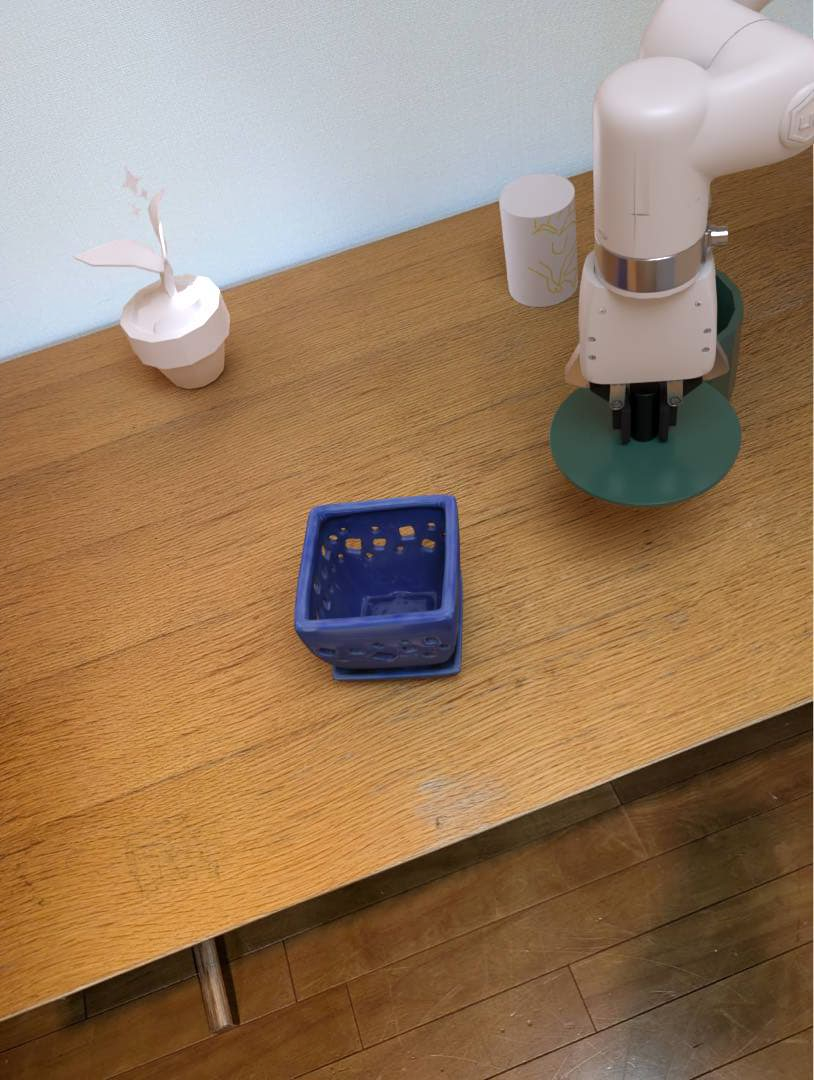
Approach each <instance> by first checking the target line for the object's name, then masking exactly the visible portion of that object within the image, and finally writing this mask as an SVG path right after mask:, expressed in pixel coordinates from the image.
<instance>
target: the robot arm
mask: <svg viewBox="0 0 814 1080" xmlns="http://www.w3.org/2000/svg"><path fill="white" fill-rule="evenodd" d="M773 1H774V0H662V1H661V2H660V4H659V5H658V6H657V8H655V11H654V12H653V14H652V16H651V18H650V20H649V22H648V24H647V25H646V27H645V30H644V32H643V34H642V37H641V39H640V42H639V47H638V51H637V55H636V60H632V61H629V62H626V63H624V64H622V65H621V66H619V67H616V68H615V69H614V70H613V71H611V72H610V73H609V74H607V75H606V76H605V77H604V78H603V79H602V81H601V82H600V83H599V85H598V87H597V88H596V91H595V94H594V95H593V96H594V97H593V99H592V100H593V101H592V108H591V109H592V110H591V111H592V112H591V127H592V128H591V130H592V131H591V132H592V176H593V177H592V178H593V179H592V180H593V183H592V184H593V226H594V227H593V231H594V232H593V235H594V239H593V241H594V249H593V250H591V251H590V252H589V253H588V254H587V256H586V257H585V260H584V263H583V268H582V272H581V277H580V286H579V296H578V321H577V323H578V324H577V327H578V328H577V337H578V338H577V339H578V341H577V342H578V344H577V345H576V347H575V349H574V351H573V353H572V354H571V356H570V357H569V360H568V361H567V363H566V365H565V367H564V370H563V372H564V382H565V383H566V384H567V385H571V386H575V387H578V388H579V387H582V388H590V390H591V391H592V392H593V393H595V394H596V395H598V396H599V397H601V398H602V399H604V400H606V401H607V402H609V407H610V408H611V409H612V429H613V430H615V429H621V443H622V444H626V443H628V442H630V426H631V408H630V399H629V387H627V386H626V383H640V382H655V381H663V382H660V399H659V420H658V436H659V440H661V442H663V441H668V431H669V426H676V424H677V409H678V406H679V405H680V404H682V402H683V397H684V396H686V395H687V394H688V393H690V392H691V391H693V390H694V389H695V388H697V387H698V386H700V385H701V384H702V382H703V381H704V380H707V381H708V380H710V379H713V378H716V377H718V376H721V375H723V374H726V373H727V372H728V371H729V364H728V358H727V356H726V354H725V352H724V350H723V349H722V347H721V345H720V343H719V341H718V340H717V295H716V279H715V274H716V272H715V269H716V264H715V257H714V253H713V250H714V249H716V248H717V247H725V246H728V242H729V227H728V225H718V226H717V225H716V224H711V221H710V220H709V219H708V217H709V216H708V215H709V210H708V204H709V192H711V183H712V182H713V181H714V180H715V179H716V178H719V177H723V176H728V175H731V174H735V173H739V172H743V171H747V170H753V169H758V168H761V167H767V166H770V165H774V164H776V163H780V162H783V161H786V160H787V159H790V158H792V157H795V156H797V155H798V154H800V153H802V152H804V151H805V150H807V149H809V148H810V147H811V146H813V145H814V38H812V37H810V36H807V35H805V34H804V33H801V32H799V31H797V30H795V29H792V28H790V27H788V26H786V25H783V24H781V23H780V22H778V21H776V20H774V19H772V18H770V17H768V16H766V15H763V14H762V13H760V12H761V11H762V10H764V9H765V8H766V6H769V4H770V3H771V2H773ZM712 249H713V250H712Z"/></svg>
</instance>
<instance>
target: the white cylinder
mask: <svg viewBox="0 0 814 1080" xmlns="http://www.w3.org/2000/svg"><path fill="white" fill-rule="evenodd" d="M575 191H576V190H575V186H574V185H573V183H572V182H571V181H570V180H569V179H568V178H566V177H565V176H562V175H559V174H556V173H551V172H538V173H537V172H536V173H530V174H526V175H523V176H520V177H518V178H516V179H514V180H512V181H510V182H509V183H507V184H506V185H505V186H504V187H503V189H502V190H501V191H500V193H499V197H498V202H499V203H498V204H499V212H500V221H501V231H502V240H503V250H504V258H505V259H504V260H505V269H506V277H507V278H506V279H507V287H508V292H509V294H510V297H511V298H512V299H513V300H514V301H515V302H517V303H519V304H521V305H523V306H527V307H531V308H532V307H533V308H546V307H553V306H555V305H558V304H561V303H563V302H565V301H566V300H568V299H569V298H571V297H572V296H573V295H574V294H575V292H577V289H578V287H579V286H578V285H579V265H578V264H579V263H578V262H579V261H578V240H577V238H578V237H577V217H576V216H577V215H576V214H577V213H576V192H575Z"/></svg>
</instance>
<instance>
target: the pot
mask: <svg viewBox="0 0 814 1080" xmlns="http://www.w3.org/2000/svg"><path fill="white" fill-rule="evenodd" d="M715 272H716V274H715V279H716V295H717V340H718V341H719V343H720V345H721V347H722V349H723V350H724V352H725V354H726V356H727V358H728V364H729V371H728V372H727V373H726V374H723V375H721V376H718V377H716V378H713V379H710V380H708V381H707V380H704V382H706V383H707V384H709V385H711V386H712V387H714V388H715V389H716V390H717V391H719V392H720V393H721V394H722V395H723V396H724V397H725V398H726V399H727V400H728V401H729V402H730V401H731V398H732V394H733V390H734V388H735V386H736V377H737V369H738V362H739V353H740V346H741V337H742V329H743V322H744V313H745V307H744V302H743V295H742V291H741V288H739V287H738V285H737V284H735V282H734V281H733V280H732V278H730V277H729V275H728V274H726V273H725V272H724V271H722V270H719V269H717V268H715Z"/></svg>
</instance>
